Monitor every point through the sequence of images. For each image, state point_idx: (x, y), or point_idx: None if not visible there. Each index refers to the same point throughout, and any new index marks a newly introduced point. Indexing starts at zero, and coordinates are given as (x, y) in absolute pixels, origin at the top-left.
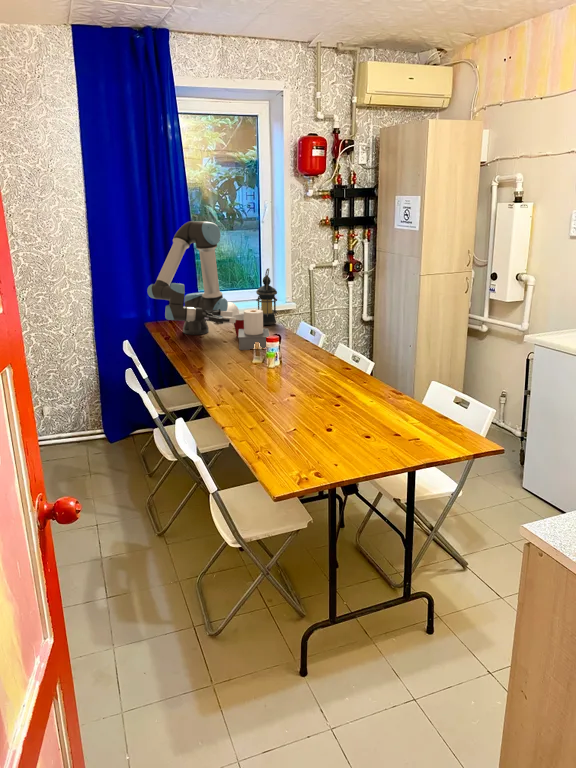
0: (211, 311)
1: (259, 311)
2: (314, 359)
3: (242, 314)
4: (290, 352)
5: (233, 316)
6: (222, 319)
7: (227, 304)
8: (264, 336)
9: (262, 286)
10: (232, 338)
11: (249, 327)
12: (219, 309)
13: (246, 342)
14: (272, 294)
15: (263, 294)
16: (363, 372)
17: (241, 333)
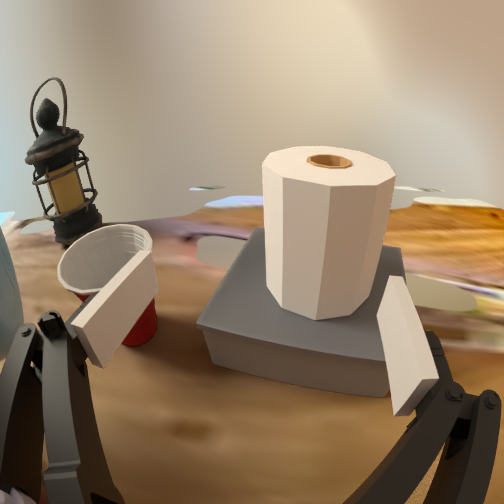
0: (79, 482)
1: (340, 152)
2: (462, 232)
3: (80, 240)
4: (416, 252)
5: (62, 277)
6: (488, 397)
7: (3, 235)
8: (394, 260)
9: (41, 135)
10: (143, 373)
11: (371, 269)
12: (47, 320)
13: None
14: (81, 140)
15: (62, 149)
16: (500, 208)
17: (320, 335)
